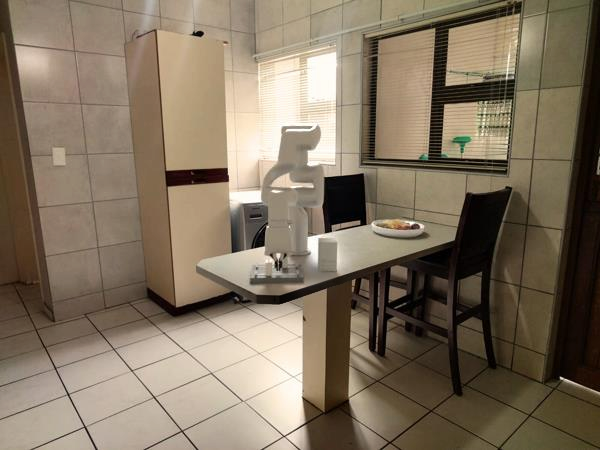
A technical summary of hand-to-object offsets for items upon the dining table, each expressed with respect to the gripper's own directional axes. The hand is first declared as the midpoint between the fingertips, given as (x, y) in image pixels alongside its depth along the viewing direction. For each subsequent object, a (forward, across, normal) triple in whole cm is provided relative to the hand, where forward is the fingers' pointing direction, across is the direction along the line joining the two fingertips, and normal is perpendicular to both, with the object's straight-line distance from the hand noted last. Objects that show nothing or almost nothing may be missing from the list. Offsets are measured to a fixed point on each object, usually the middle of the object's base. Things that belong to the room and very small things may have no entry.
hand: (278, 269), depth 154 cm
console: (+4, 0, -4) cm, 6 cm away
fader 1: (+1, +4, 0) cm, 4 cm away
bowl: (+4, -70, -78) cm, 106 cm away
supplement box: (+4, -20, -12) cm, 24 cm away
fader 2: (+1, -3, -9) cm, 9 cm away
